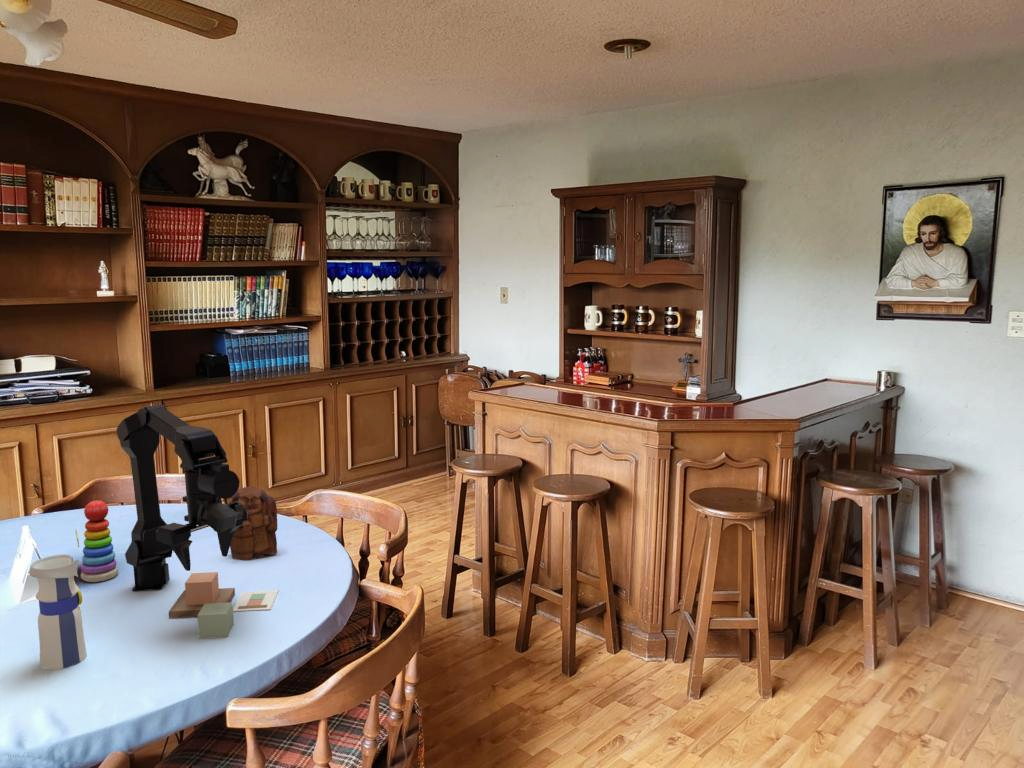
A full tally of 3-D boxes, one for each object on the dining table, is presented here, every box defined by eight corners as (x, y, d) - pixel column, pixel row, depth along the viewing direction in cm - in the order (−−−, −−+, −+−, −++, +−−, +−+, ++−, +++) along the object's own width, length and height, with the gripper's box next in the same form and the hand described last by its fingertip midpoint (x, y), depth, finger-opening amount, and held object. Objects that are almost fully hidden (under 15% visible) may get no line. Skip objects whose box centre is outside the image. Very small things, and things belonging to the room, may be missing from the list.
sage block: (199, 639, 157) (197, 615, 156) (206, 626, 163) (204, 603, 162) (227, 637, 158) (226, 613, 157) (233, 625, 163) (232, 602, 162)
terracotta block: (186, 605, 169) (184, 583, 168) (193, 594, 174) (191, 573, 174) (213, 603, 170) (211, 581, 169) (219, 593, 175) (217, 571, 174)
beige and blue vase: (77, 643, 155) (66, 521, 151) (96, 657, 150) (85, 530, 146) (31, 659, 149) (18, 532, 145) (49, 674, 143) (36, 543, 140)
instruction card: (232, 611, 169) (232, 610, 169) (242, 592, 179) (242, 591, 179) (270, 609, 170) (270, 608, 170) (278, 591, 180) (278, 589, 180)
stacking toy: (103, 584, 184) (96, 507, 181) (73, 582, 186) (66, 505, 183) (125, 571, 192) (119, 497, 189) (97, 569, 193) (90, 495, 190)
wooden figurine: (231, 562, 197) (226, 493, 194) (229, 554, 203) (225, 486, 200) (280, 556, 202) (276, 488, 199) (277, 548, 207) (273, 481, 205)
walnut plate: (169, 618, 166) (168, 611, 166) (184, 596, 177) (184, 590, 177) (223, 615, 167) (222, 608, 167) (235, 594, 178) (234, 587, 178)
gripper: (187, 507, 151) (193, 585, 153) (263, 484, 167) (268, 555, 169) (151, 500, 157) (157, 575, 159) (227, 479, 173) (232, 547, 175)
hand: (206, 563), depth 165 cm, fingers open, 9 cm apart
